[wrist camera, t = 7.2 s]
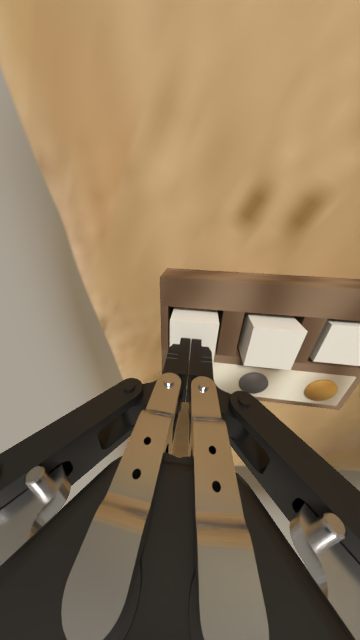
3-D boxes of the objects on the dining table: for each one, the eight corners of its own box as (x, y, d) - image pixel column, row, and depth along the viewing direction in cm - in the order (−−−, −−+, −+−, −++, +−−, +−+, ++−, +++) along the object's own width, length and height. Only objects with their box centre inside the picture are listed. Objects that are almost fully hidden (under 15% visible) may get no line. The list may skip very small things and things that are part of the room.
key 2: (358, 313, 15) (385, 328, 13) (339, 347, 17) (359, 366, 15) (314, 310, 15) (332, 324, 13) (299, 343, 17) (313, 361, 15)
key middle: (291, 315, 14) (307, 331, 12) (278, 350, 16) (290, 370, 14) (246, 311, 15) (253, 327, 13) (238, 346, 16) (243, 365, 14)
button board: (383, 280, 14) (429, 295, 11) (321, 385, 20) (341, 412, 17) (167, 268, 16) (159, 278, 13) (167, 368, 22) (162, 391, 19)
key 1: (217, 309, 15) (219, 324, 13) (212, 344, 17) (213, 362, 14) (174, 306, 15) (169, 320, 13) (174, 340, 17) (169, 357, 15)
